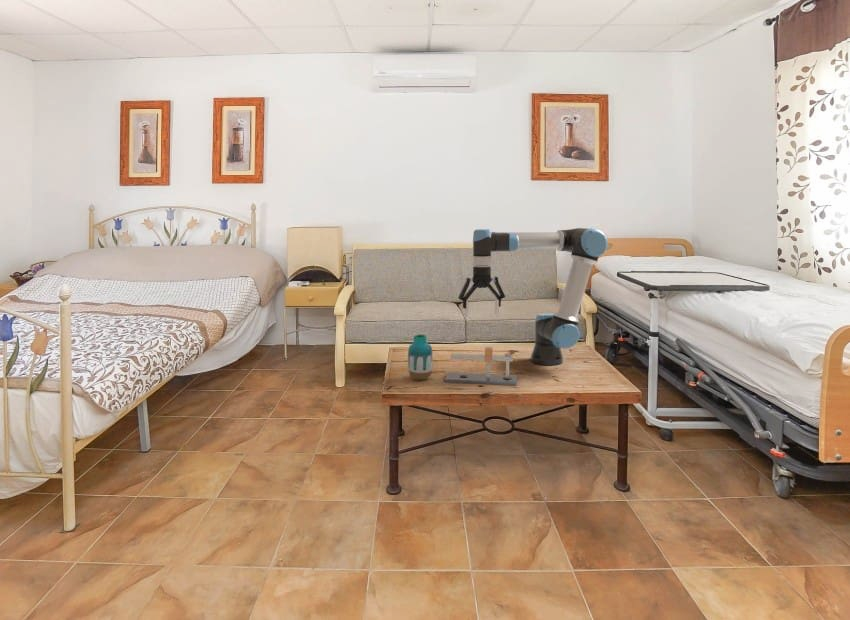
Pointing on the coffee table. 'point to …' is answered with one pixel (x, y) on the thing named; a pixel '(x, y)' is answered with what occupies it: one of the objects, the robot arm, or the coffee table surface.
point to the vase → (420, 358)
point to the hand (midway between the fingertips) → (481, 315)
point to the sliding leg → (488, 358)
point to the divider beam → (506, 357)
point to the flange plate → (481, 378)
